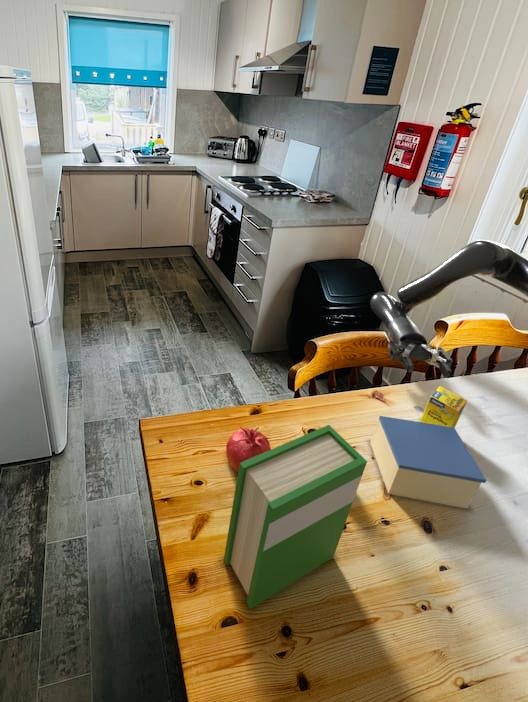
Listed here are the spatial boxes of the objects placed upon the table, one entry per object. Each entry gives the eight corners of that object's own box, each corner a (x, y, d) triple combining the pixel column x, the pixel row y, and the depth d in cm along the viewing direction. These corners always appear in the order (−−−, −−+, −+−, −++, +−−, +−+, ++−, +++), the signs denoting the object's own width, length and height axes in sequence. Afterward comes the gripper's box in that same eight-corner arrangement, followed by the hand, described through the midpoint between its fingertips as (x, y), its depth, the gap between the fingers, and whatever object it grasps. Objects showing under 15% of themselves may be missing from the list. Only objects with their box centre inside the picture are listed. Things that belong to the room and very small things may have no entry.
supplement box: (443, 447, 90) (459, 411, 86) (415, 431, 95) (429, 395, 90) (452, 435, 94) (468, 399, 90) (424, 419, 98) (439, 385, 94)
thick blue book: (438, 455, 88) (449, 429, 85) (467, 510, 77) (481, 482, 74) (369, 443, 91) (378, 418, 87) (387, 495, 79) (398, 468, 76)
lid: (453, 430, 85) (454, 427, 85) (485, 483, 74) (486, 480, 73) (378, 418, 87) (379, 415, 87) (398, 468, 76) (399, 465, 76)
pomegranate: (249, 494, 78) (255, 461, 74) (215, 458, 85) (219, 426, 82) (281, 469, 84) (289, 437, 80) (247, 437, 91) (252, 406, 87)
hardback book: (249, 610, 61) (272, 509, 51) (223, 561, 67) (239, 462, 57) (332, 558, 68) (367, 461, 58) (302, 519, 74) (328, 424, 64)
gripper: (383, 321, 113) (403, 356, 98) (436, 327, 111) (465, 364, 96) (376, 342, 116) (395, 379, 102) (428, 349, 114) (455, 388, 99)
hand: (429, 372), depth 99 cm, fingers open, 8 cm apart
